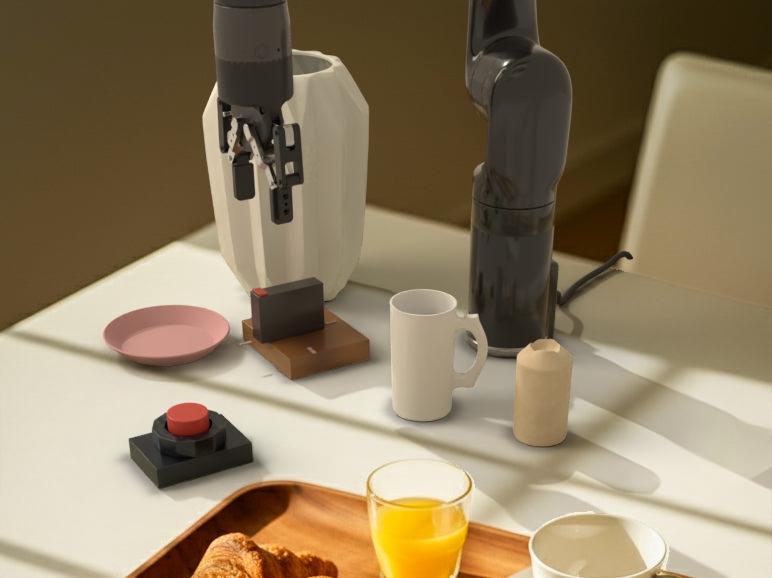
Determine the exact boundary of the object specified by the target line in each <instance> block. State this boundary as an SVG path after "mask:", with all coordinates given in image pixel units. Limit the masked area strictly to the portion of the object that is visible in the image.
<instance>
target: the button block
mask: <svg viewBox="0 0 772 578" xmlns="http://www.w3.org/2000/svg"><path fill="white" fill-rule="evenodd" d="M208 413H209V424H210V427H209V429H208V430H207V431H206V432H203V433H200V434H196V435H190V436H179V435H175V434H172V433H170V432H169V430H168V424H167V415H166V414H167V411H166V412H164V413H162V414H161V415H160V416H158V417H156V418H155V419H153V422H152V426H151V432H148V433H143V434H140V435H136V436H134V437H129V438H128V447H129V455H130V459H131V460H132V461H133V462H134V463H135V464H136V465H137V467H138V468H140V470H141V471H142V472H143V473H144V474H145V476H147V478H148V479H149V480H150V481H151V482H152V483H153V484H154V486H155V487H156V488H157V489H158V490H160V489H163V488H167V487H168V488H169V487H170V486H174V485H177V484H181V483H185V482H188V481H192V480H195V479H198V478H203V477H206V476H209V475H213V474H216V473H219V472H223V471H226V470H229V469H230V470H231V469H234V468H237V467H241V466H243V465H247V464H251V463H253V462H254V452H253V441H252V440H250V439H249V438H248V437H247V435H245V434H243V432H241V430H239V429H238V428H237V427H236V426H235V425H234V424H233V423H232V422H231V421H230V420H229V419H228V418H227V417H226V416H225V415H224V414H222V413H219V412H218V411H216V410H211V409H208Z"/></svg>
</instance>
